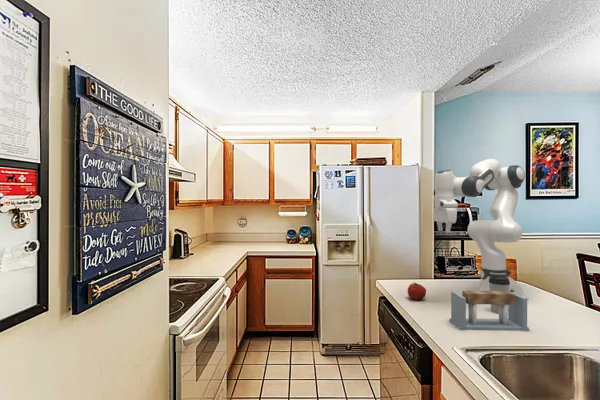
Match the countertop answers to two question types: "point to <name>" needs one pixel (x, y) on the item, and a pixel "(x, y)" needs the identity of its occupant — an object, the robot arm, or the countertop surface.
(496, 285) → the coffee cup
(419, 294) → the tomato
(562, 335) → the countertop surface
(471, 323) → the shelf stand
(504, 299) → the shelf board
